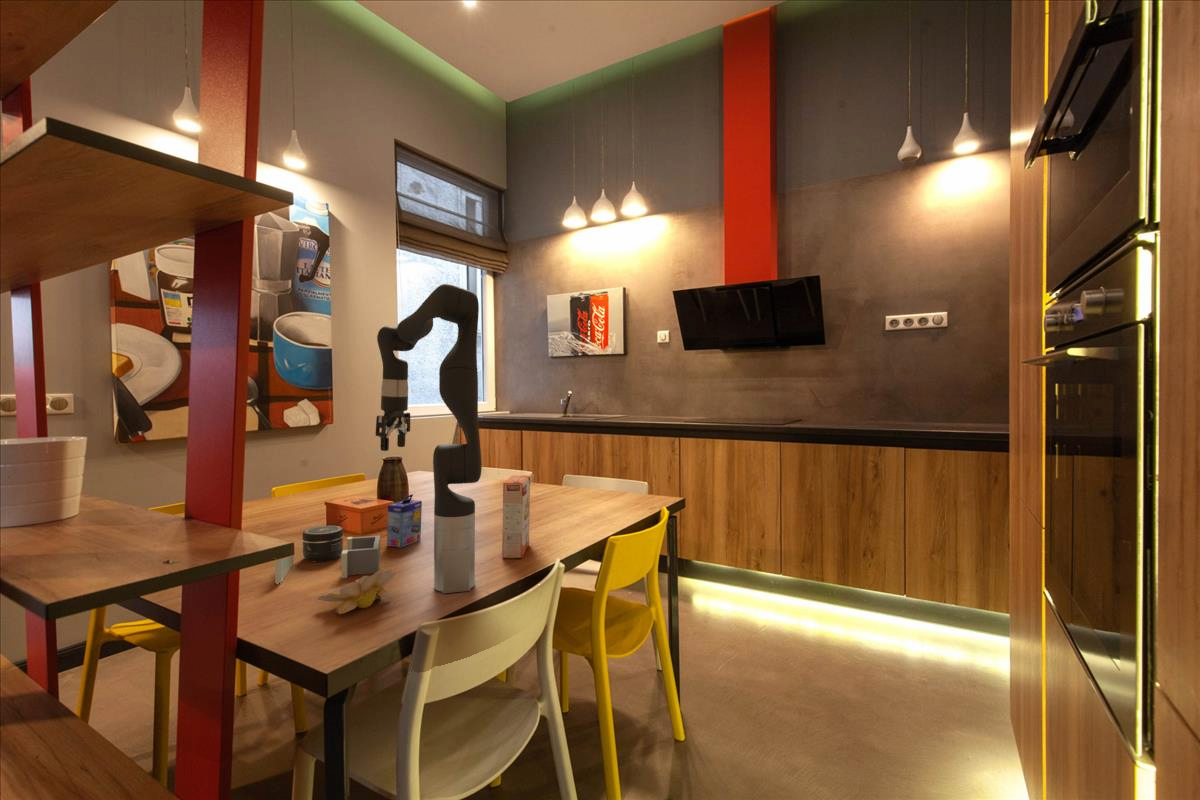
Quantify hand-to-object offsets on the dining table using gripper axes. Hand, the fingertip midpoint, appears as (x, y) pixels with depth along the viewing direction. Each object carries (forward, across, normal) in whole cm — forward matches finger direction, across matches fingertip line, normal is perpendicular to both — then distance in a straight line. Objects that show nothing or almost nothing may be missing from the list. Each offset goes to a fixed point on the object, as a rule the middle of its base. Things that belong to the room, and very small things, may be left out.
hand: (393, 448), depth 168 cm
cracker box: (+26, -1, -41) cm, 49 cm away
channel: (+27, -27, -1) cm, 39 cm away
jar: (+28, -19, +8) cm, 35 cm away
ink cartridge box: (+28, -1, -6) cm, 29 cm away
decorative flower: (+26, -46, -23) cm, 57 cm away
